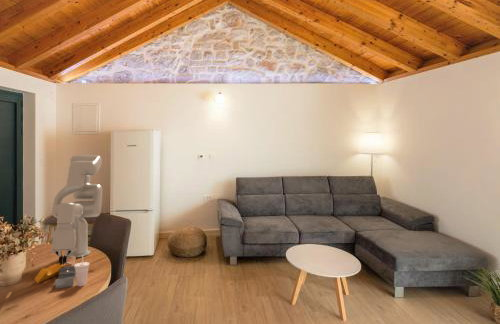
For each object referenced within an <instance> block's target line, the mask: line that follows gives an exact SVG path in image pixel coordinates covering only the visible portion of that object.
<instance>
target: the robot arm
mask: <svg viewBox="0 0 500 324" xmlns="http://www.w3.org/2000/svg"><path fill="white" fill-rule="evenodd" d="M69 160H70V164H69V166H68V167H69V168H68V174H67V178H66V179H67V180H66V184H65V186H64V187H62V188H61V189H60V190H59V191H58V192H57V194H56V195H55V196H54V200H53V204H52V211H51V214H52V217H54V218H55V219H57V221H56V229H55V230H54V232H53V236H52V243H51V250H50V253H51V254H55V255H57V257H58V263H60V265H62V262H63V265H64V264H65V263H66V260H67V257H70V256H73V257H74V256H76V258H82V255H83V257H85V256H88V255H90V254H91V250H90V249H88V247H89V246H88V245H89V243H88V242H89V241H88V239H89V237H88V235H89V226H88V225H89V223H88V222H87V220H86V219H85V218H96V217H99V216H100V215H101V211H102V203H103V194H104V193H103V187H102V185H100V184H98V183H91V179H92V178H91V176H96V175H97V174H98V172H99V170H100V169H101V168H102V165H103V164H102V163H103V159H102V157H101V156H100V155H97V154H93V155H91V154H76V155H72V156H71V158H70V159H69ZM71 194H72V196H73V199H75V200H77V201H72V202H62V201H63V200H64V199H65V198H66V197H67V196H69V195H71ZM62 251H64V254H62V253H63V252H62Z"/></svg>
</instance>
